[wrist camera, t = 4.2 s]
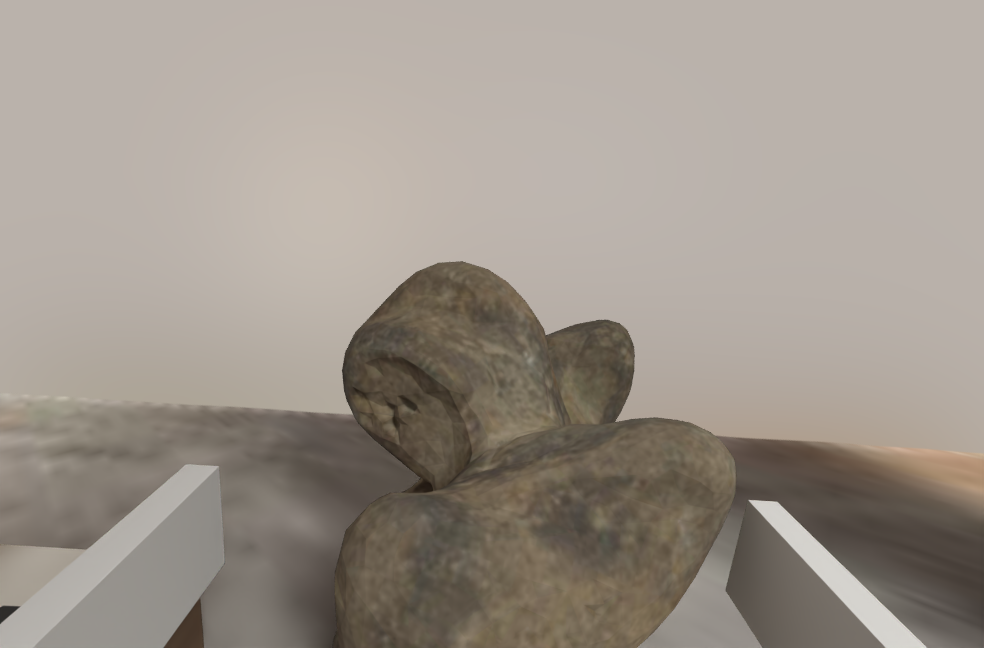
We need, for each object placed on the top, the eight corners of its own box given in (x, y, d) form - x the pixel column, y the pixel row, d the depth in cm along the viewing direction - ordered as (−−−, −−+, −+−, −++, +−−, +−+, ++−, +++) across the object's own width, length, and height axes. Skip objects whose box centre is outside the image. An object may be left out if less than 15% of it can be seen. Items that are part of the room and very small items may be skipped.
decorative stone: (400, 508, 26) (412, 239, 22) (595, 531, 25) (640, 261, 22) (215, 946, 10) (162, 293, 7) (709, 1029, 10) (926, 370, 6)
